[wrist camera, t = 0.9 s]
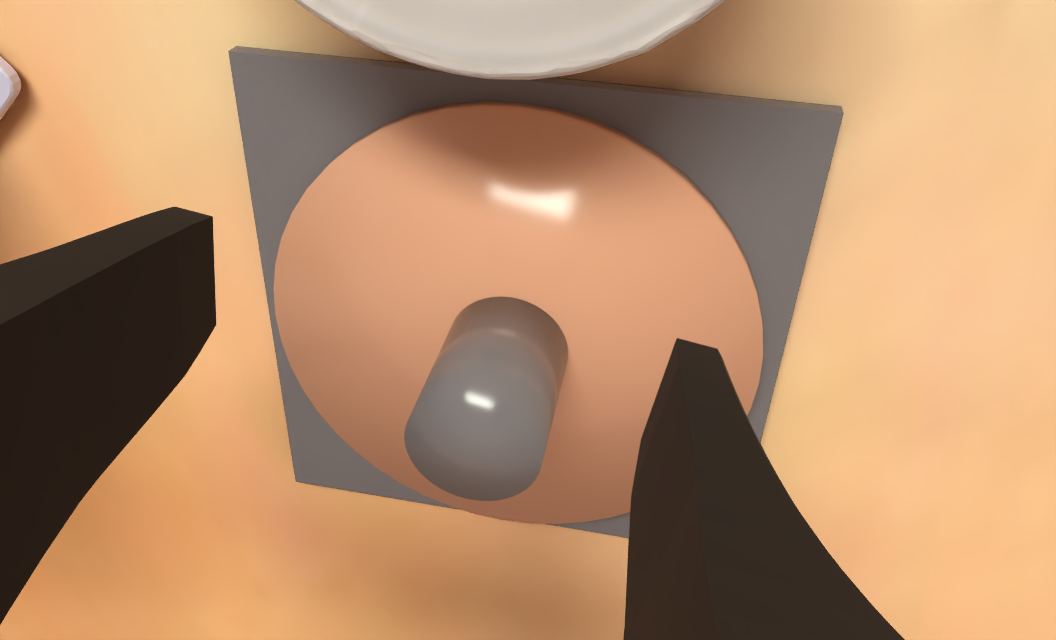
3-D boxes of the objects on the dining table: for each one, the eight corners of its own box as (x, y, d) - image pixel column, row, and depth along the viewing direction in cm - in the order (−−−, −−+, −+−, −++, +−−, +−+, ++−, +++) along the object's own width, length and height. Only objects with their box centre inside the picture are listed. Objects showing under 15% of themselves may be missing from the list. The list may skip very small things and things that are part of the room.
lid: (505, 563, 29) (471, 688, 25) (194, 291, 25) (99, 390, 21) (865, 384, 22) (894, 516, 18) (524, -23, 18) (473, 40, 14)
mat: (731, 545, 27) (732, 555, 26) (300, 473, 29) (295, 481, 28) (841, 106, 19) (843, 112, 19) (235, 46, 21) (228, 50, 20)
